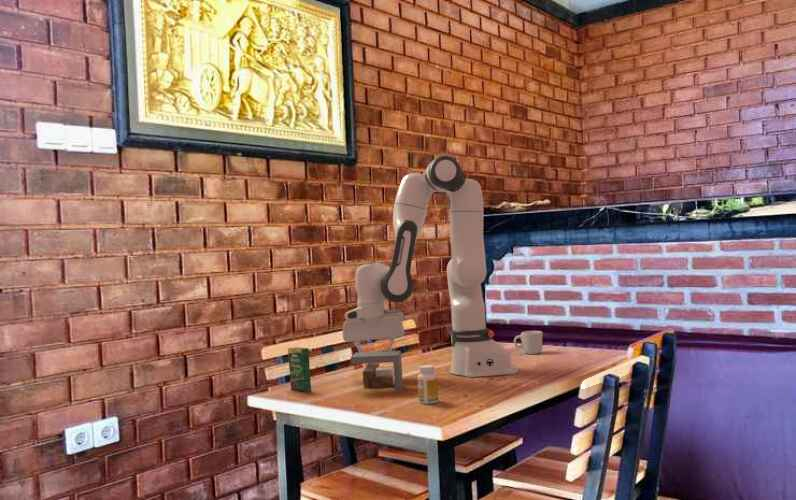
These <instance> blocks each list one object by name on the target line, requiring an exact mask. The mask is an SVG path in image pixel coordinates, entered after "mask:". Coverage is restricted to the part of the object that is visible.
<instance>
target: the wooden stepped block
mask: <svg viewBox="0 0 796 500" xmlns="http://www.w3.org/2000/svg"><path fill="white" fill-rule="evenodd" d="M377 367H380V363H367V366H366V367H365V368H364V370H362V381H363V383H362V385H363V388H364V389H366V388H368V387H372V388H393V387H394V383H393V376H376V369H377Z"/></svg>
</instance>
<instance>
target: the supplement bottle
mask: <svg viewBox="0 0 796 500" xmlns="http://www.w3.org/2000/svg"><path fill="white" fill-rule="evenodd" d="M419 372H420V373H419V374H418V375H417V389H418V390H417V391H418V401H419V403H420V404H424V405H429V404H431V405H432V404H436V403H438V402H439V401H440V398H439V382H438V374H437V373H435V366H434V365H432V364H424V365H420V366H419Z"/></svg>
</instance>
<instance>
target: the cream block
mask: <svg viewBox="0 0 796 500" xmlns="http://www.w3.org/2000/svg"><path fill="white" fill-rule="evenodd" d="M376 376H393V384H395V381H394V366H379V367H377V369H376Z"/></svg>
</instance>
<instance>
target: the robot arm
mask: <svg viewBox="0 0 796 500" xmlns="http://www.w3.org/2000/svg"><path fill="white" fill-rule="evenodd" d="M443 193H446V194H447V196H448V197H449V203H450V204H449V206H450V207H449V212H450V213H449V237H450V247H451V251H450V252H451V259H449V261H448V263H447V266H446V276H447V278H446V279H447V286H448V293H449V300H450V309H451V310H450V311H451V326H452V328H451V330H450V331H451V332H450V338H451V340H450V341H451V342H450V343H451V346H452V357H451V366H450V370H449V373H450V374H453V375H456V376H464V377H469V378H473V377H475V378H476V377H478V378H479V377H489V376H490V377H491V376H503V375H505V376H506V375H515V374H518V372H520V369H519V366H518V365H517V364H514V363H512V357H511V355H510V352H509V351H508V350H507V349H506V347H504V346H502V345H500V344H499V343H498V342H497V341H495V340H494V339H493V338H494V336H495V331H493V330H491V329H489V328H487V325H486V324H487V323H486V308H485V307H486V306H485V301H484V298H483V292H482V286H481V284H482V283H483V282H484V281H485V279H486V277H487V273H488V271H487V261H486V251H485V241H484V197H483V192H482V185H481V184H480V183H479V182H478V181H477V180H475V179H472V178H467V177H466V174H465V172H464V170H463V169H462V167H461V165H460V163H459V162H458V161H457V159H456V158H454V157H453V156H451V155H439V156H437V157H435V158H434V159H432V161H431V162H429V164H428V166H427V167H426V169H425V171H424V172H423V173H420V174H419V173H408V174H406V175H404V176H403V177H402V179H401V182H400V184H399V187H398V188H397V192H396V196H395V200H394V205H393V210H392V211H393V212H392V227H393V230H394V239H395V241H394V247H393V253H392V258H391V263H390V266H386V265H384V264H383V263H382V264H381V263H380V262H379V261H369V262H367V263H363V264H360V265H359V266H358V267H357V268H355V269H356V270H355V275H354V276H355V278H354V280H355V282H354V283H355V291H356V293H357V294H356V295H357V301H356V302H357V303H356V305H357V307H354V308H353V309H351V310H349V311H346V312H345V313H344V319H345V321H344V322H343V324H342V339H343V341H344V342H345V343H347V342H348V343H350V342H353V343H354V345H353V346H354V347H356V349H357V350H358V351H357V353H360V352H365V351H364V350H365V349H364V348H362V347H361V346H360V345H359V344H360V342H361V341H362V342H363V341H373V340H374V341H375V340H383V339H384V340H385V339H389V340H388V341H389V343H390V344H389V346H386V351H393V345H394V342H395V339H397V338H403V337H404V336H405V328H404V327H405V326H404V323H403V321H404V318H405V317H404V313H403V311H402V310H400V309H398V308H395V309H385V299H386V300H387V301H389V302H391V303H394V304H395V303H396V304H399V303H402V302H405V301H406V300H408V299H409V298H410V297H411V295H412V293H413V291H414V283H413V278H412V274H411V269H412V263H413V256H414V251H415V246H416V243H417V239H418V237H419V236H420V233H421V231H422V229H423V226H424V224H425V220H426V218H427V214H428V206H429V203H430V199H431V196H432V195H434V194H436V195H437V194H443Z"/></svg>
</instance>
